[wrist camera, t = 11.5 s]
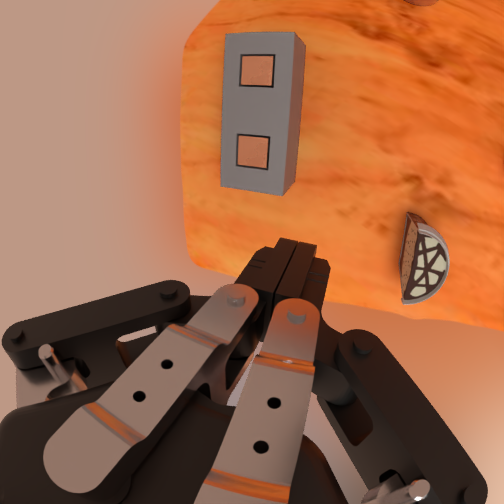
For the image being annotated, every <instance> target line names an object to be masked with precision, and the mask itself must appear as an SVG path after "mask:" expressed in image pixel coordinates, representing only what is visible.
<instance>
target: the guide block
mask: <svg viewBox="0 0 504 504" xmlns="http://www.w3.org/2000/svg"><path fill="white" fill-rule="evenodd" d="M305 48H306V45H305V44H304V43H303V42H302V41H301V39H300V38H299V37H298V36H297V35H296V33H295V32H246V33H230V34H226V38H225V55H224V76H223V100H222V133H221V187H228V188H235V189H241V190H248V191H254V192H260V193H266V194H272V195H278V196H283V195H284V194H285V193H286V191H287V190H288V189H289V188H290V187H291V185H292V184H293V183H294V182H295V175H296V165H297V154H298V144H299V132H300V121H301V108H302V95H303V81H304V66H305ZM243 56H274V57H275V73H274V88H266V87H253V86H247V85H241V76H242V57H243ZM243 134H251V135H262V136H271V137H270V152H269V167H267V168H262V167H254V166H246V165H238V142H239V135H243Z"/></svg>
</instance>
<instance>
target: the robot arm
mask: <svg viewBox="0 0 504 504" xmlns="http://www.w3.org/2000/svg"><path fill="white" fill-rule="evenodd" d="M404 1H406V2H408V3H411V4H414V5H419V6H429V5H432V4H435V3H436V2H437V1H438V0H404ZM316 249H317V245H313V244H309V243H304V242H299V243H298V241H295V240H290V239H285V238H280V239H279V241H278V242H277V244H276V246H275V247H274V248H270V247H266V246H265V247H264V248H262V249H260V250H258V251H256V253H255V254H254V255H253V257H252V258H251V260H250V261H249V263H248V264H247V266H246V267H245V268H244V270H243V271H242V273H241V274H240V276H239V277H238V278H237V280H236V281H235V283H234V284H228V285H225V286H223V287H221V288H219V289H218V290H217V291H216V292H215V293H214V295H212V296H194V295H190V290H189V287H188V286H187V285H186V284H185V283H183V282H180V281H176V280H166V281H162V282H158V283H155V284H151V285H148V286H144V287H141V288H137V289H134V290H130V291H127V292H124V293H120V294H116V295H113V296H109V297H106V298H102V299H99V300H95V301H92V302H88V303H85V304H81V305H78V306H74V307H71V308H67V309H63V310H60V311H56V312H53V313H49V314H45V315H42V316H39V317H35V318H32V319H28V320H24V321H20V322H17V323H15V324H13V325H12V326H10V327H9V328H8V329H7V330H6V332H5V333H4V335H3V338H2V346H3V348H4V350H5V351H6V353H7V354H8V355H9V357H10V358H11V360H12V361H13V363H14V365H15V367H16V398H17V409H15V410H13V411H12V412H10V413H9V414H7V415H6V416H5V417H4V419H3V420H2V422H1V423H0V504H348V502H347V500H346V498H345V496H344V494H343V492H342V490H341V488H340V486H339V484H338V482H337V480H336V478H335V476H334V474H333V472H332V470H331V468H330V466H329V464H328V462H327V460H326V458H325V456H324V454H323V453H322V452H321V450H320V449H319V448H318V447H317V445H316V444H315V443H314V442H313V441H311V440H310V439H309V438H308V437H307V436H305V435H304V434H303V431H304V426H305V422H306V416H307V412H308V406H309V401H310V396H311V392H313V393H314V394H316V395H317V400H318V402H319V404H320V406H321V408H322V410H323V411H324V413H325V415H326V417H327V419H328V420H329V422H330V424H331V426H332V427H333V429H334V431H335V433H336V435H337V436H338V438H339V440H340V442H341V443H342V445H343V447H344V448H345V450H346V452H347V453H348V455H349V457H350V459H351V461H352V462H353V464H354V466H355V467H356V469H357V471H358V473H359V474H360V476H361V478H362V479H363V481H364V483H365V485H366V486H367V488H368V489H369V490H368V492H367V493H366V494H365V495H364V497H363V498H362V501H361V504H485V502H486V499H487V494H488V488H487V484H486V481H485V479H484V478H483V476H482V475H481V473H480V472H479V471H478V469H477V467H476V466H475V464H474V463H473V461H472V460H471V459H470V457H469V456H468V454H467V453H466V451H465V450H464V448H463V447H462V446H461V444H460V443H459V442H458V440H457V439H456V437H455V436H454V435H453V433H452V432H451V430H450V429H449V428H448V426H447V425H446V424H445V422H444V421H443V419H442V418H441V417H440V415H439V414H438V413H437V411H436V410H435V409H434V407H433V406H432V405H431V403H430V402H429V401H428V399H427V398H426V397H425V396H424V394H423V393H422V392H421V390H420V389H419V388H418V386H417V385H416V384H415V383H414V381H413V380H412V379H411V378H410V376H409V375H408V374H407V372H406V371H405V370H404V369H403V367H402V366H401V365H400V364H399V362H398V361H397V360H396V359H395V357H394V356H393V355H392V354H391V353H390V351H389V350H388V349H387V348H386V346H385V345H384V344H383V343H382V341H381V340H380V339H379V338H378V337H377V336H375V335H374V334H372V333H370V332H368V331H365V330H360V329H354V330H350V331H347V332H345V333H344V334H342V333H340V332H338V331H336V330H334V329H332V328H331V327H329V326H328V325H327V324H326V322H325V321H324V320H323V318H322V315H321V309H322V305H323V301H324V296H325V292H326V287H327V283H328V278H329V273H330V269H331V268H330V266H329V264H328V261H327V260H325V259H320V258H316V257H315V254H316ZM152 326H155V328H156V331H157V332H156V333H153V334H150V335H147V336H144V337H140V338H137V339H134V340H131V341H128V342H120V341H118V340H117V339H118V338H119V337H121V336H123V335H126V334H130V333H133V332H136V331H140V330H142V329H146V328H149V327H152ZM259 341H260V342H263V345H262V348H261V351H260V353H259V355H258V354H257V355H256V356H255V358H254V360H253V363H252V366H251V369H250V371H249V374H248V377H247V379H246V382H245V385H244V388H243V390H242V393H241V396H240V398H239V401H238V404H237V406H236V407H235V406H227V402H228V399H229V397H230V395H231V393H232V392H233V390H234V389H235V387H236V385H237V384H238V382H239V380H240V379H241V377H242V375H243V374H244V372H245V370H246V369H247V367H248V366H249V364H250V362H251V360H252V359H253V356H254V351H255V349H256V347H257V345H258V343H259Z"/></svg>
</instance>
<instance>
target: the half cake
mask: <svg viewBox="0 0 504 504" xmlns="http://www.w3.org/2000/svg"><path fill="white" fill-rule="evenodd" d="M448 270H449V252H448V248H447V245H446V242H445V240H444V239H443V237H442V236H441V235H440V233H438V232H437V231H436V230H435V229H433V228H432V227H430V226H428V225H427V224H426V222H425V221H424V220H423V219H422V218H421V217H419V216H418V215H416V214H413V213H409V212H407V215H406V222H405V229H404V235H403V242H402V247H401V253H400V258H399V271H400V280H401V289H402V298H401V300H402V303H403V305H409V304H416V303H420V302H422V301H425V300H427V299H428V298H430V297H431V296H433V295H434V294H435V293H436V292H437V291H438V290H439V289H440V288H441V287H442V285H443V283H444V282H445V280H446V277H447V274H448Z"/></svg>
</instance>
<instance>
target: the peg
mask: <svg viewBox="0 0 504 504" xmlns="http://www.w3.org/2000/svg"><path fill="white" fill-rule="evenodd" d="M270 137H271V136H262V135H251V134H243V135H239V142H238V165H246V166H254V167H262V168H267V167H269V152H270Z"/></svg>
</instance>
